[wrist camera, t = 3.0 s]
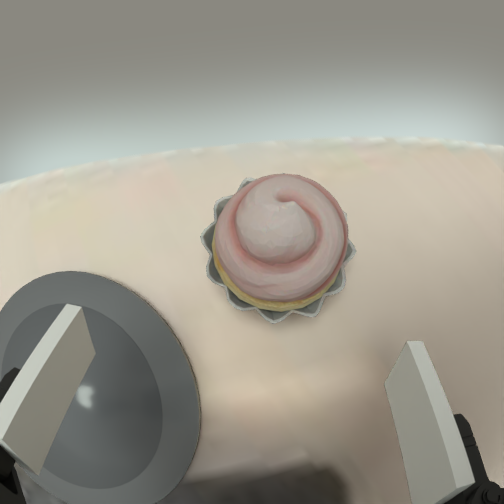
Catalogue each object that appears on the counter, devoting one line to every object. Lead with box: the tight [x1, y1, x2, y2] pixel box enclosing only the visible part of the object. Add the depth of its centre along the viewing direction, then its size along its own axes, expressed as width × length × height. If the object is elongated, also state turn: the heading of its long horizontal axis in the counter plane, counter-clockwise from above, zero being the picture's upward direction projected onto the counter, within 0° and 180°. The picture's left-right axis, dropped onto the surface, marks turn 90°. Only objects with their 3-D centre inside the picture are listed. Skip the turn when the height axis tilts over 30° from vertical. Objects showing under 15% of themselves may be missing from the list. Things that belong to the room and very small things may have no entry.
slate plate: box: [0, 271, 201, 504], centre depth 20 cm, size 20×20×1 cm
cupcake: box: [200, 173, 356, 324], centre depth 19 cm, size 9×9×10 cm
